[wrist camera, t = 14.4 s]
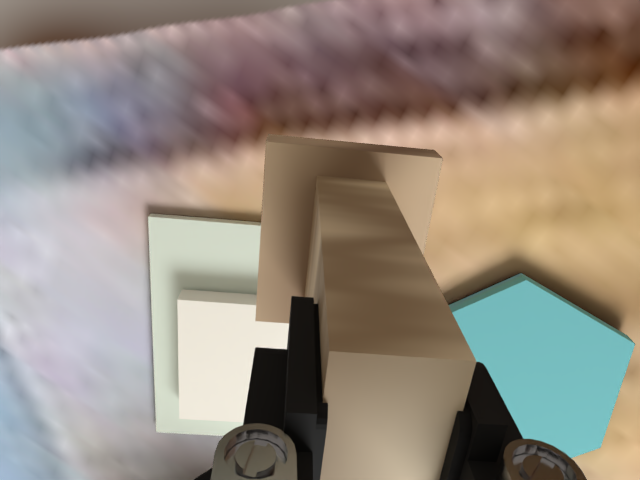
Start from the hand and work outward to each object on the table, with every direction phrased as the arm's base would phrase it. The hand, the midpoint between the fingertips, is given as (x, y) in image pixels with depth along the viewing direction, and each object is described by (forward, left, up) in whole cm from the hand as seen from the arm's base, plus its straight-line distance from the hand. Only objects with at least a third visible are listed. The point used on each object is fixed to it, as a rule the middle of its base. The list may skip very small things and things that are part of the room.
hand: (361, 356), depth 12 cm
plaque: (-15, +17, -22) cm, 31 cm away
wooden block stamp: (0, 0, -8) cm, 8 cm away
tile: (0, +15, -20) cm, 25 cm away
